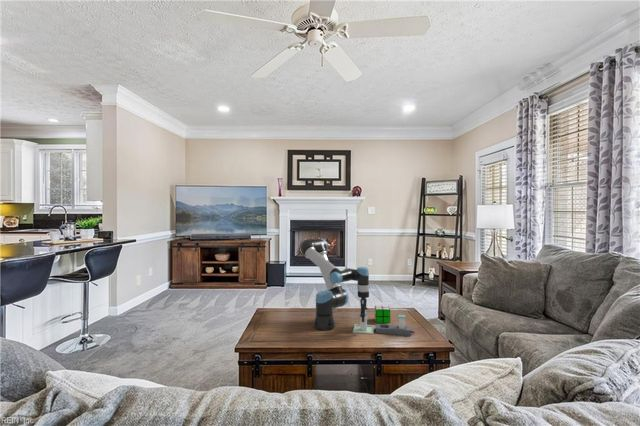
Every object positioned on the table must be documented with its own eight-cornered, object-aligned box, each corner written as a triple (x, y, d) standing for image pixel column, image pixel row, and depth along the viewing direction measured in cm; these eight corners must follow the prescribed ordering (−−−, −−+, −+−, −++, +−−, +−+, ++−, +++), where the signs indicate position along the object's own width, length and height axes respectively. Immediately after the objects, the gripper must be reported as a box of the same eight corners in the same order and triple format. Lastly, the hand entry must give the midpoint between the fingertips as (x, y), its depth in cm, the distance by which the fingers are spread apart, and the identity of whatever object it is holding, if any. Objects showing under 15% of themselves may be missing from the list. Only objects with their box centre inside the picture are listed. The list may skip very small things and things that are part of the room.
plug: (360, 330, 197) (360, 314, 197) (360, 328, 201) (360, 312, 201) (366, 330, 196) (366, 314, 197) (367, 328, 201) (366, 312, 201)
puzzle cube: (388, 319, 220) (388, 305, 221) (390, 323, 210) (390, 309, 211) (374, 318, 221) (374, 305, 222) (376, 323, 211) (375, 309, 212)
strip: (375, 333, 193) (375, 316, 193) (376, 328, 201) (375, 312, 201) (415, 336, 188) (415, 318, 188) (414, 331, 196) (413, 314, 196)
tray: (352, 333, 194) (352, 331, 194) (354, 326, 207) (354, 324, 207) (373, 334, 191) (373, 332, 191) (374, 327, 204) (374, 325, 204)
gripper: (367, 295, 186) (368, 330, 186) (369, 286, 211) (370, 317, 210) (355, 295, 188) (356, 329, 187) (359, 286, 212) (359, 316, 212)
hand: (363, 323), depth 199 cm, fingers open, 13 cm apart
